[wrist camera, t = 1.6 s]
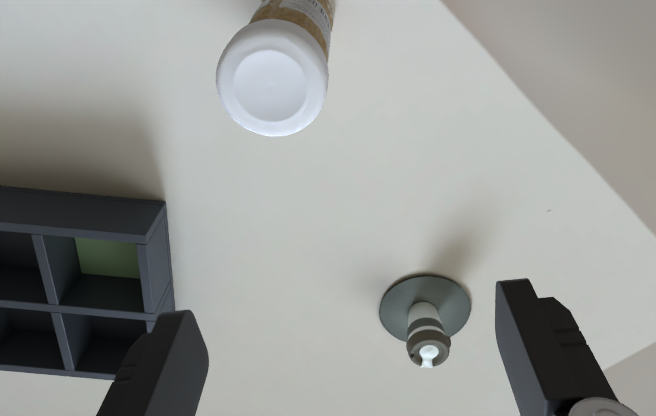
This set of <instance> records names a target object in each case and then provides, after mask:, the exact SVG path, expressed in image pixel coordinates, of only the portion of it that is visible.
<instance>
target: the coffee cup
mask: <svg viewBox="0 0 656 416" xmlns="http://www.w3.org/2000/svg"><path fill="white" fill-rule="evenodd" d="M470 311H471V304H470V300H469V298H468V296H467V294H466V292H465V291H464V290H463V289H462V288H461V287H460V286H459V285H457V284H456V283H454V282H452V281H450V280H447V279H444V278H440V277H435V276H421V277H415V278H411V279H408V280H406V281H403V282H401V283H399V284H397V285H396V286H394V287H393V288H392V289H391V290H390V291H389V292H388V293H387V294H386V295H385V297H384V298H383V300H382V302H381V305H380V312H379V314H380V319H381V322H382V324H383V326H384V327H385V329H386V330H387V331H388V332H389V333H390V334H391V335H393V336H394V337H396V338H397V339H399V340H402V341H405V342H407V345H406V348H407V351H408V354H409V357H410V359H411V360H412V361H413V362H414V363H415V364H417V365H419V366H420V367H424V366H425V367H431V368H433V366H437V365H440V364H441V363H443V362H444V361H445V360H446V359H447V358H448V356H449V348H450V346H451V340H450V337H451V336H453V335H454V334H456V333H457V332H458V331H460V330H461V329H462V327H463V326H464V325H465V324H466V322H467V320H468V318H469V316H470Z"/></svg>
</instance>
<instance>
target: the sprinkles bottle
mask: <svg viewBox="0 0 656 416" xmlns="http://www.w3.org/2000/svg"><path fill="white" fill-rule="evenodd" d="M332 26H333V14H332V9H331V7H330V5H329V2H328V0H264V2H263V3H262V4H261V6H260V7H259V8H258V10H257V11H256V12H255V14H254V15H253V17H252V19H251V21H250V23H249V24H248V25H247V26H245V27H243V28H242V29H241V30H240V31H238V32H237V33H236V34H235V35H234V37H233V38H232V39H231V41H230V42H229V43H228V45H227V46H226V48H225V49H224V51H223V53H222V55H221V57H220V60H219V62H218V66H217V71H216V85H217V91H218V95H219V97H220V100H221V102H222V104H223V106H224V108H225V109H226V111H227V112H228V114H229V115H230V116H231V117H232V118H233V119H234V120H235V121H236V122H237V123H238V124H240V125H241V126H243V127H244V128H246V129H248V130H250V131H252V132H254V133H257V134H261V135H265V136H285V135H289V134H292V133H295V132H297V131H299V130H301V129H303V128H304V127H306V126H307V125H308V124H309V123H311V122H312V121H313V120H314V119H315V117H316V116H317V115H318V113H319V112H320V110H321V108H322V106H323V103H324V100H325V97H326V93H327V87H328V75H329V74H328V65H327V63H328V56H329V48H330V37H331V31H332Z"/></svg>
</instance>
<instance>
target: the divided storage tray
mask: <svg viewBox="0 0 656 416" xmlns="http://www.w3.org/2000/svg"><path fill="white" fill-rule="evenodd" d="M170 311H175V303H174V291H173V280H172V268H171V257H170V245H169V234H168V222H167V211H166V202H163V201H152V200H142V199H131V198H121V197H110V196H100V195H89V194H79V193H68V192H57V191H47V190H36V189H26V188H15V187H5V186H0V370H3V371H14V372H25V373H36V374H48V375H59V376H70V377H81V378H93V379H104V380H114V378H115V376H116V374H117V372H118V370H119V368H121V364H122V362H123V360H124V358H125V355H126V353H127V351H128V349H129V348H130V347H131V346H132V345H133V344H134V343H135V342H136V341H137V339H138V338H139V337H140V336H141V335H142V334H143V333H151V332H152V329H153V327H154V325H155V323H156V321H157V318H158V316H159V315H160V314H161V313H162V312H170Z"/></svg>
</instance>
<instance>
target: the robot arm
mask: <svg viewBox="0 0 656 416" xmlns="http://www.w3.org/2000/svg"><path fill="white" fill-rule="evenodd" d="M495 332H496V339H497V344H498V348H499V351H500V354H501V357H502V360H503V364H504V367H505V370H506V373H507V376H508V379H509V382H510V385H511V388H512V391H513V394H514V397H515V400H516V403H517V406H518V409H519V412H520V415H521V416H638V415H637V414H636V413H635V412H634V411H633V410H631V409H630V408H628V407H627V406H625V405H624V404H621V403H620V402H619V401H618V399H617V398H616V396H615V394H614V393H613V391H612V389H611V387H610V385H609V383H608V381H607V379H606V378H605V376H604V374H603V372H602V370H601V368H600V366H599V364H598V363H597V361H596V359H595V357H594V355H593V353H592V351H591V350H590V348H589V346H588V345H587V344H586V340H585V338H584V336H583V335H582V333H581V331H579V327H578V325H577V323H576V321H575V320H574V318H573V316H572V314H571V312H570V311H569V310H568V309H567V308H566V307H565V306H563V305H562V304H561V303H560V302H559V301H557V300H556V299H555V298H554V297H547V298H538V297H537V295H536V293H535V291H534V289H533V287H532V285H531V283H530V281H529V279H527V278H525V279H515V280H504V281H497V282H496V300H495ZM208 367H209V358H208V351H207V348H206V345H205V343H204V340H203V337H202V335H201V332H200V330H199V327H198V324H197V322H196V319H195V317H194V314H193V313H192V311H191V310H181V311H170V312H162V313H161V314H160V315H159V316H158V318H157V321H156V323H155V325H154V327H153V329H152V332H151V333H143V334H142V335H141V336H140V337H139V338H138V339H137V341H136V342H135V343H134V344H133V345H132V346H131V347H130V348H129V349H128V351H127V353H126V355H125V358H124V360H123V362H122V364H121V368H119V370H118V372H117V374H116V376H115V378H114V382H112V384H111V386H110V388H109V390H108V392H107V395H106V397H105V399H104V401H103V403H102V405H101V407H100V409H99V411H98V413H97V415H96V416H195V414H196V410H197V407H198V404H199V400H200V397H201V393H202V390H203V387H204V383H205V380H206V377H207V373H208Z"/></svg>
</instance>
